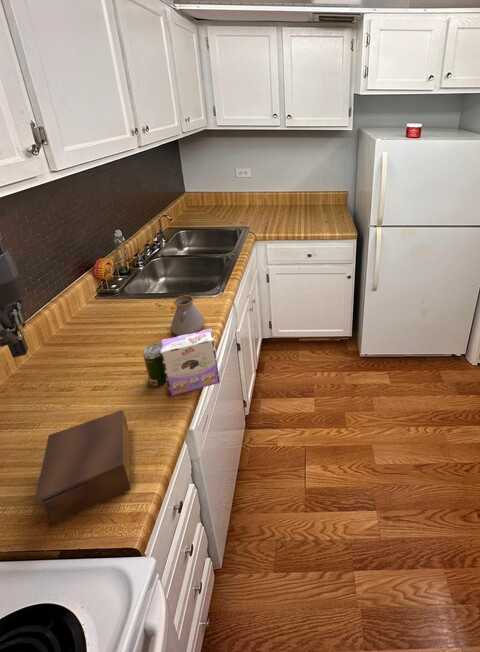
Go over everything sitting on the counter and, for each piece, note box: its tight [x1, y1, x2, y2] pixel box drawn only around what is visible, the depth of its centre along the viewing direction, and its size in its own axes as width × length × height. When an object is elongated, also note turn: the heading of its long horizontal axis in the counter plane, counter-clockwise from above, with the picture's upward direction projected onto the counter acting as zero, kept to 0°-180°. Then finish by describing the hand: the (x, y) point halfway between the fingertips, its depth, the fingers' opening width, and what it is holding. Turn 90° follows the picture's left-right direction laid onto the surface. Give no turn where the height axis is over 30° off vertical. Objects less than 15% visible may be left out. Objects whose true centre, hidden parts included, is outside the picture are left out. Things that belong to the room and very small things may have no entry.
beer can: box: [143, 343, 167, 388], centre depth 96 cm, size 5×5×12 cm
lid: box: [34, 409, 125, 504], centre depth 71 cm, size 14×15×1 cm
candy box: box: [160, 328, 221, 397], centre depth 95 cm, size 14×6×16 cm, turn 111°
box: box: [41, 414, 132, 526], centre depth 73 cm, size 14×15×8 cm
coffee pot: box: [170, 294, 205, 336], centre depth 113 cm, size 21×12×15 cm, turn 19°
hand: (21, 353), depth 66 cm, fingers closed
